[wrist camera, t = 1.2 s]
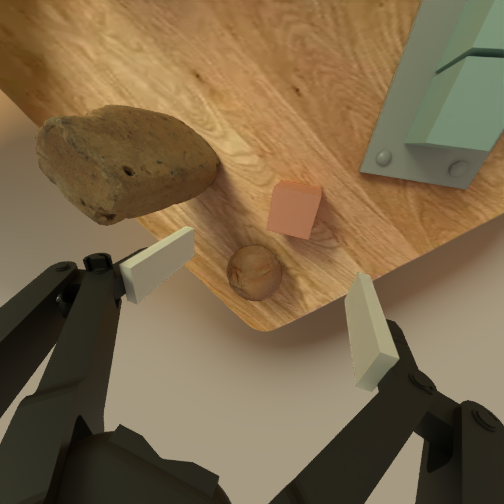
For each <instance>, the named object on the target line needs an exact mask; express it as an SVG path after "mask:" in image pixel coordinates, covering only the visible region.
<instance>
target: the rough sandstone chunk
mask: <svg viewBox="0 0 504 504" xmlns="http://www.w3.org/2000/svg"><path fill="white" fill-rule="evenodd" d="M35 138H36V154H37V159H38V164H39V167H40V169H41V170H42V172H43V173H44V174H45V175H46V176H47V177H48V178H49V179H50V181H51V182H53V183H54V184H55V185H57V186H58V188H59V190H60V191H61V193H62V194H63V195H64V197H65V198H66V199H67V200H69V201H70V202H71V203H72V204H73V205H74V206H76V207H77V208H78V209H79V210H80V211H81V212H82V213H84V214H85V215H86V216H88V217H89V218H91V219H92V220H93V221H95V222H97V223H98V224H100V225H106V226H108V225H112V224H115V223H117V222H120V221H122V220H124V219H125V218H135V217H139V216H143V215H147V214H150V213H153V212H156V211H159V210H162V209H165V208H167V207H169V206H171V205H173V204H179V203H182V202H185V201H187V200H190V199H192V198H194V197H196V196H197V195H199V194H200V193H201V192H203V191H204V190H205V189H206V188H207V187H208V186H209V185H210V184H211V183H212V182H213V181H214V180H215V178H216V176H217V170H218V166H219V159H218V157H217V155H216V153H215V152H214V150H213V149H212V148H211V147H210V145H209V144H208V143H207V142H206V141H205V140H204V139H203V138H202V137H201V136H200V135H198V134H197V133H196V132H195V131H194V130H193V129H192V128H190V127H189V126H187V125H186V124H185V123H183V122H182V121H180V120H179V119H176V118H174V117H172V116H169V115H166V114H163V113H158V112H153V111H149V110H144V109H140V108H134V107H130V106H122V105H105V106H104V107H102V108H98V109H94V110H92V111H90V112H88V113H87V114H86V116H85V117H78V116H65V115H60V116H55V117H51V118H49V119H47V120H46V121H45V122H44V124H43V126H42V127H41V128H40V129H38V131H37V134H36V137H35Z"/></svg>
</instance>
